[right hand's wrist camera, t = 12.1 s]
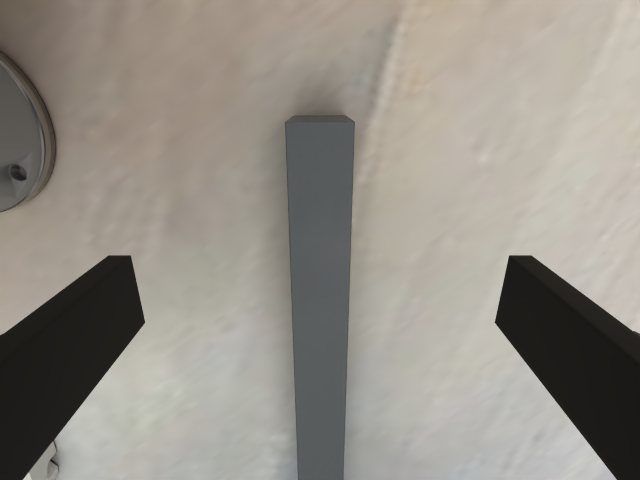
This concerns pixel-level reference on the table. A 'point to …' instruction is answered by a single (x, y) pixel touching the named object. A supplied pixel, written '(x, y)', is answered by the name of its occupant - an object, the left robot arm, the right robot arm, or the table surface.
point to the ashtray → (44, 466)
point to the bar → (320, 285)
